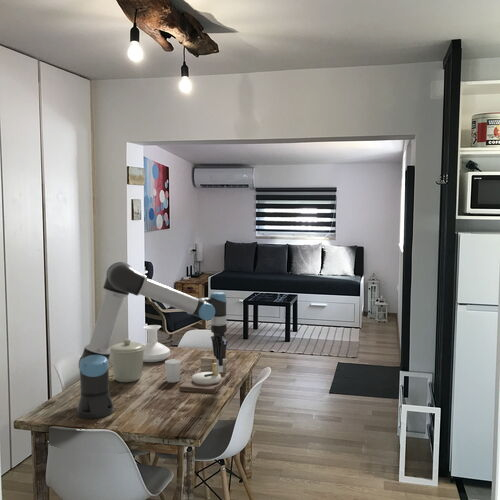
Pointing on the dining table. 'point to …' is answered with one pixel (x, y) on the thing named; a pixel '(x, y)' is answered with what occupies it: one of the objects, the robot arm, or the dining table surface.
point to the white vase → (154, 346)
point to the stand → (206, 367)
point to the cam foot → (207, 377)
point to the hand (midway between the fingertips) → (219, 371)
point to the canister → (127, 360)
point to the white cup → (173, 370)
